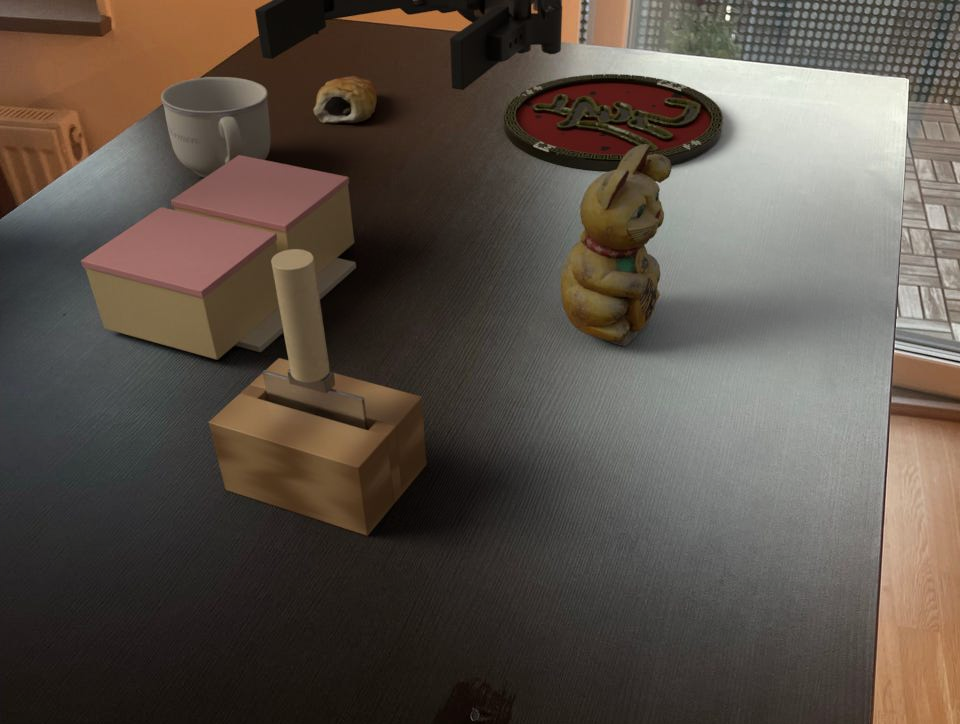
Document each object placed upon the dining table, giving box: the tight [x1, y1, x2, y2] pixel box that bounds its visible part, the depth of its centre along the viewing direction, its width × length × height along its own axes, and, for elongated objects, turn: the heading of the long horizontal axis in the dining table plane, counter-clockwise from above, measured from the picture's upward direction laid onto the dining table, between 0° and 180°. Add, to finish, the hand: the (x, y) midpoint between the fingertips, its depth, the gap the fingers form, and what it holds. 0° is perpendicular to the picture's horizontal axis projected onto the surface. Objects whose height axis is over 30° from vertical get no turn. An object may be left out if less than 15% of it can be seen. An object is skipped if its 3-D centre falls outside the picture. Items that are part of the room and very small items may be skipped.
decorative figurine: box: [560, 144, 673, 347], centre depth 84 cm, size 10×8×15 cm
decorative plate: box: [503, 73, 724, 172], centre depth 118 cm, size 25×1×25 cm
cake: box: [80, 155, 357, 360], centre depth 92 cm, size 16×23×7 cm
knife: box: [261, 249, 368, 430], centre depth 70 cm, size 8×3×17 cm, turn 64°
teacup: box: [160, 76, 271, 179], centre depth 108 cm, size 14×11×8 cm
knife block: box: [208, 357, 427, 537], centre depth 74 cm, size 12×9×6 cm
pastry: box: [313, 75, 378, 125], centre depth 121 cm, size 9×7×4 cm
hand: (356, 49), depth 63 cm, fingers open, 13 cm apart
